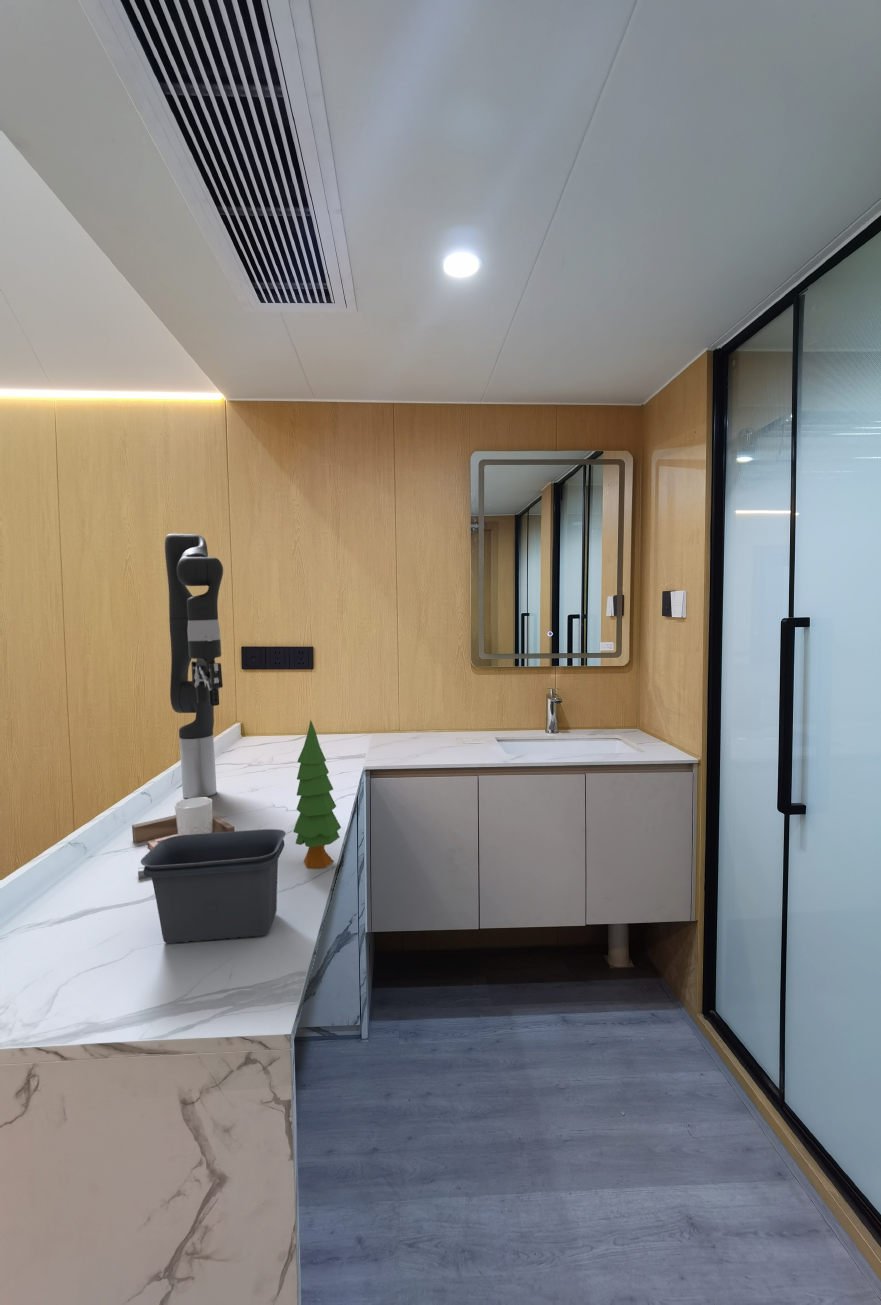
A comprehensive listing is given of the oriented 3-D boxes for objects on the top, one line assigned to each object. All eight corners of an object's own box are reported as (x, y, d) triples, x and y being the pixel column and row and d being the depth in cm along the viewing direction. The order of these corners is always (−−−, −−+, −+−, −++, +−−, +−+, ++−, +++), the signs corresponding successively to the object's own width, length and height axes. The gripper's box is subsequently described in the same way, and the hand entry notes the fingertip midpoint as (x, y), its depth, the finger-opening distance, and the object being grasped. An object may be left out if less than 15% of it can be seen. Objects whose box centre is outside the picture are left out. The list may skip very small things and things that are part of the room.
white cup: (220, 839, 147) (217, 796, 147) (206, 852, 140) (203, 807, 139) (186, 839, 148) (184, 797, 147) (171, 852, 140) (168, 808, 139)
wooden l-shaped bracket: (133, 841, 148) (131, 825, 148) (205, 824, 159) (204, 808, 159) (157, 864, 134) (155, 846, 134) (235, 843, 145) (234, 826, 145)
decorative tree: (325, 851, 138) (319, 714, 136) (351, 862, 131) (345, 719, 129) (286, 864, 131) (279, 721, 129) (311, 877, 124) (304, 726, 122)
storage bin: (139, 955, 98) (132, 865, 97) (173, 908, 113) (168, 830, 112) (279, 945, 99) (274, 856, 98) (294, 900, 115) (290, 823, 114)
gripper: (179, 639, 159) (183, 703, 160) (199, 640, 148) (203, 708, 149) (209, 637, 164) (212, 699, 165) (230, 638, 153) (234, 704, 154)
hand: (208, 703), depth 157 cm, fingers open, 8 cm apart
